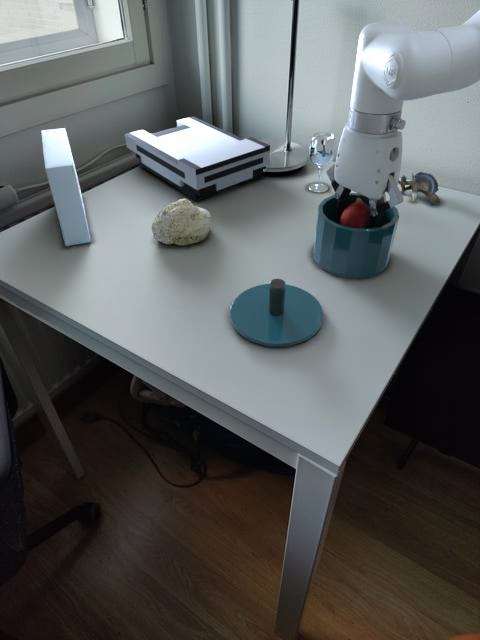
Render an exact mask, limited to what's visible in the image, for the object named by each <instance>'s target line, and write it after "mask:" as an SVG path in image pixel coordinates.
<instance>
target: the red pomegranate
mask: <svg viewBox="0 0 480 640" xmlns="http://www.w3.org/2000/svg"><path fill="white" fill-rule="evenodd" d="M369 213H371V211H370V208H369V206H368V205H366V204H365V203H364V202H363V201H362V199H361V198H357V200H356V202H355V203H352V204H351V205H349V206H348V207H347V208H346V209H345V210H344V211H343V213H342V215H341V218H340V225H342V226H346V227H350V228H359V229H365V224H366V218H367V215H368V214H369Z"/></svg>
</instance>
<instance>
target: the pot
mask: <svg viewBox="0 0 480 640" xmlns="http://www.w3.org/2000/svg"><path fill="white" fill-rule="evenodd" d="M349 195H351V196H352V201H351V204H352V203H355V202H356V200H357V198H361V199H362V201H363V202H364V203H365V204H366V205H368V206H369V208H370V204H369V198H368V197H366V196H364V195H361V194H359V193H357V192H350V194H349ZM387 201H388V200H386V202H387ZM377 204H378V206H379V202H378V200H377ZM336 205H337V199H336V198H335V196H334V194H333V195H330V196H328V197H325V198H323V200H321V202H320V203H319V204H318V205H317V213H316V223H315V233H314V243H313V258H314V262H315V263H316V264H317V266H319V267H320V268H321V269H322V270H323V271H325V272H327V273H329V274H331V275H334V276H337V277H341V278H346V279H347V278H348V279H366V278H370V277H374V276H376V275H379V274H380V273H382V272H383V271H385V269H386V268H387V266H388V263H389V262H390V258H391V254H392V250H393V246H394V241H395V237H396V233H397V228H398V224H399V219H400V214H399V210H398V208H397V207H396V206H394V207H392V208H390V209H388V210H387V211H385V212H383V215H382V220H381V225H380V227H377V228H371V229H359V228H350V227H346V226H342V225H340V221H336V220H335V214H336Z"/></svg>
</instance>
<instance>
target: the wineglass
mask: <svg viewBox="0 0 480 640" xmlns="http://www.w3.org/2000/svg"><path fill="white" fill-rule="evenodd" d="M335 155H336V138H335V135H334V134H333V133H331V132H325V131H319V132H315V133H313V134H312V136H311V140H310V143H309V147H308V158H309V161H310V162H311V163H313V164H314V165H316V166H318V167H317V173H318V175H317V176H318V177H317V183H312V184H310V185H308V189H309V190H310V192H314V193H324V192H327V191H328V190H329V187H328V185H326V184H324V183H321V177H322V176H321V175H322V172H323V166H326V165H329V164H330V163H331V162H332V161H333V160H334V158H335Z"/></svg>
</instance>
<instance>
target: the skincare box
mask: <svg viewBox="0 0 480 640" xmlns="http://www.w3.org/2000/svg"><path fill="white" fill-rule="evenodd" d="M40 135H41V145H42V153H43V161H44V169H45V173H46V177H47V181H48V185H49V188H50V192H51V196H52V200H53V203H54V206H55V210H56V214H57V218H58V222H59V225H60V229H61V233H62V238H63V241H64V245H65V247H70V246H76V245H82V244H88V243H90V242H92V240H91V235H90V230H89V223H88V219H87V214H86V209H85V204H84V200H83V196H82V191H81V186H80V183H79V182H80V181H79V177H78V173H77V170H76V165H75V161H74V158H73V153H72V148H71V145H70V141H69V138H68V134H67V130H66V127H63V128H62V127H61V128H53V129H52V128H51V129H42V130H40Z"/></svg>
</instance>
